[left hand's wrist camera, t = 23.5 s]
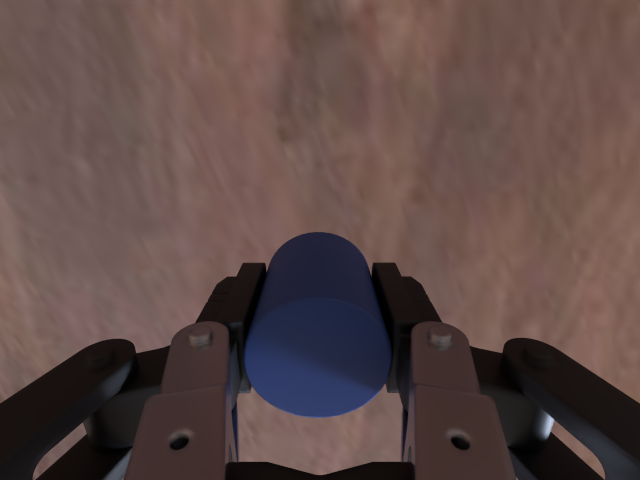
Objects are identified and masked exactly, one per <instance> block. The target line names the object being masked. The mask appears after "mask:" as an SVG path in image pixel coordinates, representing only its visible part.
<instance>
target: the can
mask: <svg viewBox="0 0 640 480" xmlns="http://www.w3.org/2000/svg"><path fill="white" fill-rule="evenodd" d="M392 359H393V356H392V347H391V342H390V339H389V336H388V332H387V329H386V325H385V322H384V318H383V315H382V312H381V308H380V305H379V301H378V298H377V295H376V291H375V288H374V284H373V281H372V278H371V274H370V271H369V267H368V264H367V262H366V260H365V258H364V256H363V254H362V253H361V252H360V250H359V249H358V248H357V247H356V246H355V245H353V244H352V243H351V242H350V241H348V240H346V239H344V238H342V237H340V236H338V235H334V234H331V233H324V232H313V233H306V234H302V235H299V236H297V237H294V238H292V239H291V240H289V241H287V242H286V243H285V244H283V245H282V246H281V247H280V248H279V249H278V250H277V252H276V253H275V254H274V256H273V257H272V259H271V262H270V264H269V267H268V270H267V273H266V276H265V280H264V283H263V286H262V289H261V292H260V296H259V299H258V302H257V305H256V308H255V312H254V315H253V318H252V321H251V324H250V328H249V331H248V334H247V337H246V340H245V344H244V349H243V364H244V368H245V372H246V375H247V377H248V380H249V382H250V383H251V385H252V387H253V388H254V389H255V390H256V392H257V393H258V394H259V395H260V396H261V397H262V398H263V399H264V400H266V401H267V402H268V403H270V404H271V405H273V406H275V407H276V408H278V409H280V410H283V411H285V412H288V413H291V414H294V415H298V416H303V417H312V418H323V417H332V416H338V415H342V414H345V413H348V412H351V411H353V410H356V409H357V408H359V407H361V406H363V405H364V404H366V403H367V402H369V401H370V400H371V399H372V398H374V397H375V396H376V395H377V394H378V392H379V391H380V390H381V389H382V387H383V386H384V384H385V383H386V381H387V379H388V376H389V374H390V370H391V367H392Z"/></svg>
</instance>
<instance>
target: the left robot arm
mask: <svg viewBox="0 0 640 480" xmlns="http://www.w3.org/2000/svg"><path fill="white" fill-rule="evenodd" d="M265 276H266V265H265V263H243V264H242V266H241V268H240V270H239V272H238V274H237V277H226V278H225V279H223V280H222V281H221V282H219V283H218V284H217V285H216V287H215V289H214V290H213V292H212V295H211V296H210V297H209V299H208V302H207V303H206V305H205V306H204V308H203V310H202V312H201V313H200V315H199V317H198V319H197V321H196V322H195V323H194V324H191V325H189V326H187V327H184V328H183V329H181V330H180V331H179V332H177V333H176V334H175V336H174V337H173V339H172V341H171V345H169V346H167V347H164V348H160V349H155V350H151V351H146V352H141V353H136V350H135V346H134V344H133V343H132V342H130V341H128V340H125V339H110V340H104V341H101V342H98V343H95V344H92V345H90V346H88V347H86V348H84V349H82V350H81V351H79V352H78V353H76V354H75V355H73V356H72V357H70V358H69V359H67V360H66V361H64V362H63V363H61V364H60V365H58V366H57V367H55V368H53V369H52V370H50V371H49V372H47V373H46V374H44V375H43V376H41V377H40V378H38V379H37V380H35V381H34V382H32V383H31V384H29V385H28V386H26V387H25V388H23V389H22V390H20V391H19V392H17V393H16V394H14V395H13V396H11V397H9V398H8V399H6V400H5V401H3V402H2V403H0V480H32V477H33V473H34V470H35V468H36V466H37V464H38V462H39V461H40V460H41V458H42V457H43V456H44V455H45V454H46V453H47V452H48V451H49V450H51V449H52V448H53V447H54V446H55V445H56V444H58V443H59V442H60V441H61V440H62V439H64V438H65V437H66V436H67V435H68V434H69V433H71V432H72V431H73V430H74V429H75V428H76V427H78V426H79V425H80V424H81V423H82V422H83V424H84V427H85V429H86V432H87V434H86V435H85V436H84V437H83V438H82V439H81V440H80V441H78V442H77V443H76V444H75V445H74V446H73V447H72V448H71V449H69V450H68V451H67V452H66V453H65V454H64V455H63V456H62V457H61V458H59V459H58V460H57V461H56V462H55V463H54V464H53V465H52V466H50V467H49V468H48V469H47V470H46V471H45V472H44V473H43V474H42V475H40V476H39V477H38V478H37V479H36V480H122V478H123V477H124V479H123V480H517V479H516V477H517V478H518V480H604V479H603V478H602V477H601V476H600V475H598V474H597V473H596V472H595V471H594V470H593V469H592V468H591V467H590V466H588V465H587V464H586V463H585V462H584V461H583V460H582V459H581V458H579V457H578V456H577V455H576V454H575V453H574V452H573V451H572V450H571V449H569V448H568V447H567V446H566V445H565V444H564V443H563V442H562V441H560V440H559V439H558V438H557V437H556V436H555V435H554V434H553V433H552V432H550V431H551V428H552V425H553V422H554V420H555V421H557V422H558V423H559V424H560V425H561V426H562V427H564V428H565V429H566V430H567V431H568V432H569V433H571V434H572V435H573V436H574V437H575V438H576V439H578V440H579V441H580V442H581V443H582V444H583V445H585V446H586V447H587V448H588V449H589V450H590V451H592V452H593V453H594V455H595V456H596V457H597V458H598V460H599V461H600V463H601V464H602V466H603V468H604V472H605V480H640V403H638V402H637V401H635V400H634V399H632V398H631V397H629V396H627V395H626V394H624V393H623V392H621V391H620V390H618V389H617V388H615V387H614V386H612V385H611V384H609V383H608V382H606V381H605V380H603V379H602V378H600V377H599V376H597V375H596V374H594V373H593V372H591V371H590V370H588V369H587V368H585V367H583V366H582V365H580V364H579V363H577V362H576V361H574V360H573V359H571V358H570V357H568V356H567V355H565V354H564V353H562V352H561V351H559V350H558V349H556V348H554V347H553V346H551V345H548V344H546V343H544V342H541V341H538V340H534V339H529V338H514V339H511V340H508V341H507V342H506V343H505V345H504V348H503V352H502V353H498V352H493V351H489V350H484V349H479V348H475V347H472V346H470V345H469V341H468V339H467V337H466V336H465V334H464V333H463V332H461V331H460V330H459V329H457V328H456V327H453V326H451V325H449V324H446V323H442V321H441V319H440V317H439V316H438V314H437V312H436V310H435V308H434V307H433V305H432V303H431V302H430V299H429V298H428V296H427V294H426V292H425V290H424V288H423V287H422V285H421V284H420V283H419V282H418V281H416V280H415V279H413V278H412V277H402V276H401V274H400V272H399V270H398V268H397V266H396V264H395V263H373V266H372V277H371V278H372V281H373V284H374V288H375V291H376V295H377V298H378V301H379V305H380V308H381V312H382V315H383V318H384V322H385V325H386V329H387V332H388V336H389V339H390V342H391V347H392V356H393V359H392V367H391V370H390V374H389V376H388V379H387V381H386V387H387V392H388V393H399V394H400V398H401V402H402V405H403V408H402V426H401V461H400V462H371V463H367V464H363V465H360V466H356V467H352V468H348V469H345V470H341V471H337V472H333V473H330V474H326V475H314V474H310V473H307V472H303V471H299V470H295V469H292V468H288V467H284V466H280V465H277V464H273V463H269V462H240V461H239V426H238V408H237V397H238V393H250V391H251V387H252V385H251V383H250V382H249V380H248V377H247V375H246V372H245V368H244V364H243V349H244V344H245V340H246V337H247V334H248V331H249V328H250V324H251V321H252V318H253V315H254V312H255V308H256V305H257V302H258V299H259V296H260V292H261V289H262V286H263V283H264V280H265Z"/></svg>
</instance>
